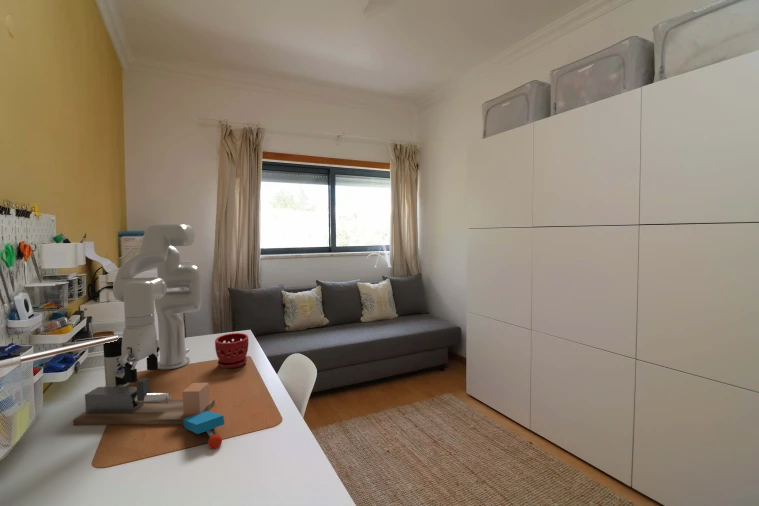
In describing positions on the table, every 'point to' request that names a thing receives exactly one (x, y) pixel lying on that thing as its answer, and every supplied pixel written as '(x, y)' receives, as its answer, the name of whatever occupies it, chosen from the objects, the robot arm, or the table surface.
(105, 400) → the sleeve
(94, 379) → the table surface
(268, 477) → the table surface
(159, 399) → the slip tube
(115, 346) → the spray can
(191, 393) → the socket
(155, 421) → the walnut board
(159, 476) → the table surface
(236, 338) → the plant pot
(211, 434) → the lever
